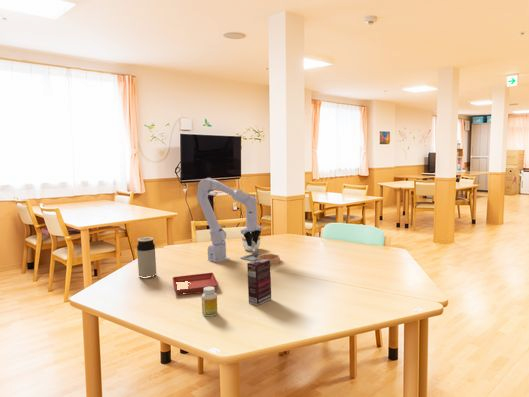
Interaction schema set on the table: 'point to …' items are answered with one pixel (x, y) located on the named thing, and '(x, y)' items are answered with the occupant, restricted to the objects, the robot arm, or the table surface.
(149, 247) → the travel mug
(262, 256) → the bowl
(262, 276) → the supplement box
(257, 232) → the robot arm
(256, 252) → the pebble dark
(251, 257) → the tray
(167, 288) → the table surface
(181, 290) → the plant saucer
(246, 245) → the lidded jar
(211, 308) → the supplement bottle
